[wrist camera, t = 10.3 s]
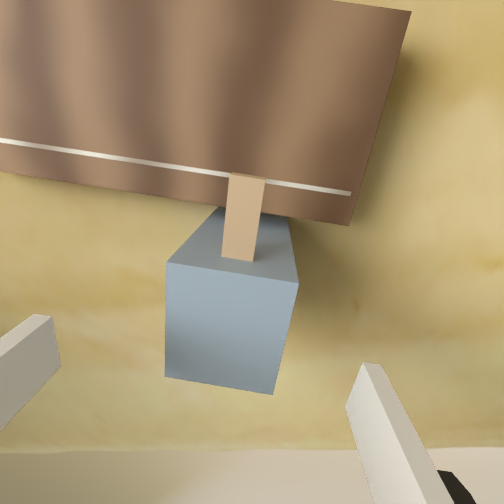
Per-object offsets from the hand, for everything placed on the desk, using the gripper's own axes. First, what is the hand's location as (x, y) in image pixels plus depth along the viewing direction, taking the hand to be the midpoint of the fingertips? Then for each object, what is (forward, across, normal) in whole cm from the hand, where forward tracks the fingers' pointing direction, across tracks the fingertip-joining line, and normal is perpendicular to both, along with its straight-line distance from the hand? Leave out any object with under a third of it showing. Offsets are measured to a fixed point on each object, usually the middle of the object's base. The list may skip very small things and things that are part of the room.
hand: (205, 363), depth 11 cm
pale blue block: (+14, +1, +2) cm, 14 cm away
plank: (+14, -7, +11) cm, 19 cm away
